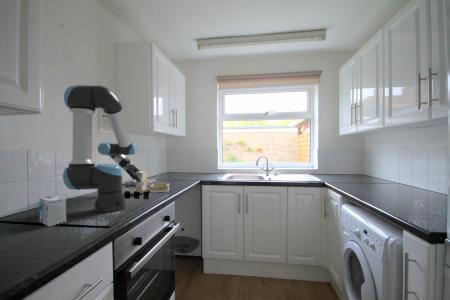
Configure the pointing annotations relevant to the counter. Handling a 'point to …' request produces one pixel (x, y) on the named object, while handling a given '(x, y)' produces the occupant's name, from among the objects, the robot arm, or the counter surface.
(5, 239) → the counter surface
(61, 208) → the light bulb box
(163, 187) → the dock
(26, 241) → the counter surface
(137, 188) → the supplement box
